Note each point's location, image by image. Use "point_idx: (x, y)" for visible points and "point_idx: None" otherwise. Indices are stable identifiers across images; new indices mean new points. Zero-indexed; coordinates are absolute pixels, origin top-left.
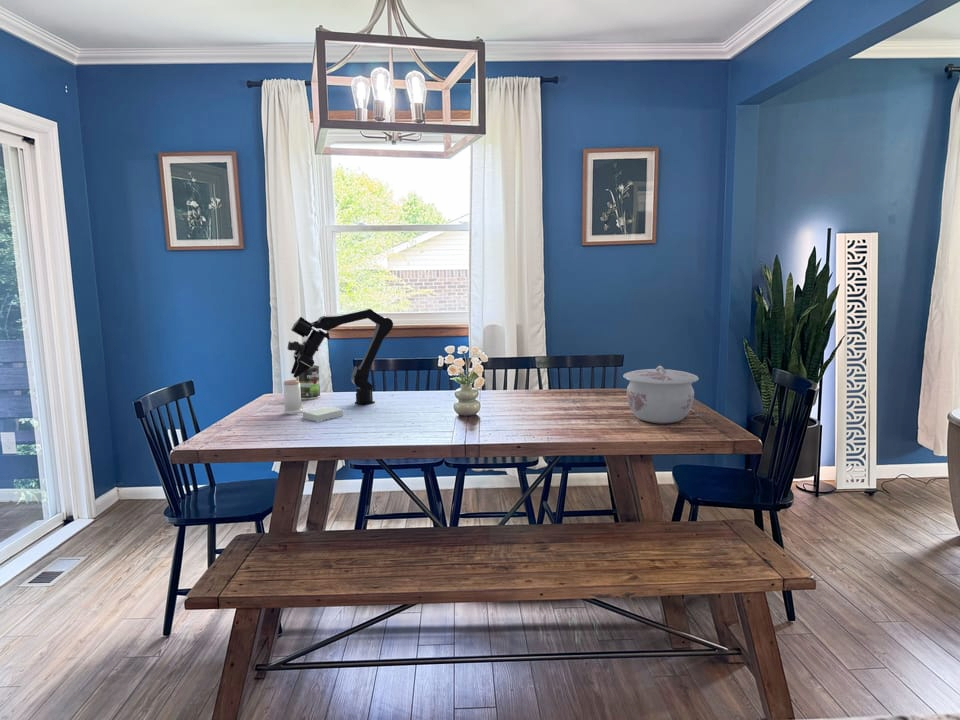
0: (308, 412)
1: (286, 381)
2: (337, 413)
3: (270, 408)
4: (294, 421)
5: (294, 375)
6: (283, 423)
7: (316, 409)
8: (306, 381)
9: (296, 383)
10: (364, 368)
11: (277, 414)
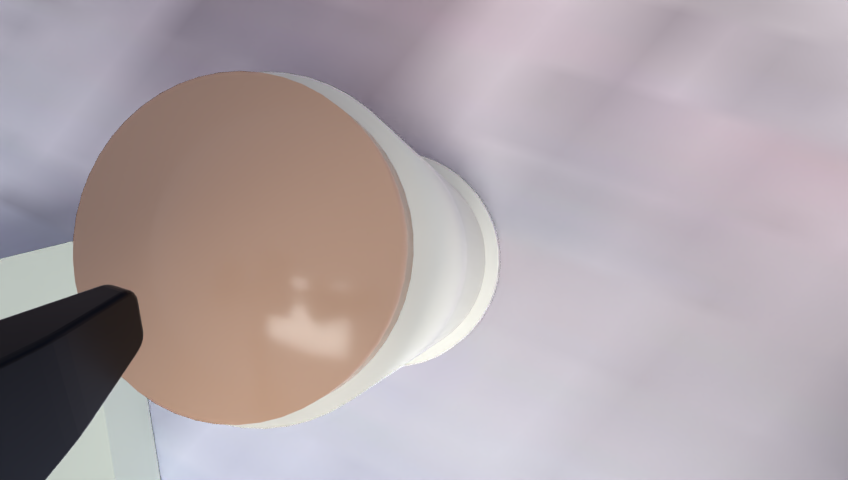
0: (7, 277)
1: (292, 142)
2: None
3: (797, 114)
4: (56, 132)
5: (67, 309)
6: (55, 28)
7: None
8: None
9: None
10: None
11: (427, 88)
